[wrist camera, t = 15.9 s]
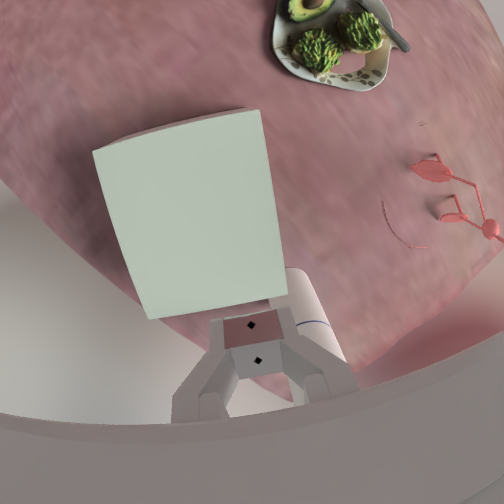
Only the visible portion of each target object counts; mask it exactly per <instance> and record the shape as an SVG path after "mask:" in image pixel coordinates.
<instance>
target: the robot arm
mask: <svg viewBox="0 0 504 504" xmlns="http://www.w3.org/2000/svg"><path fill="white" fill-rule="evenodd" d="M209 337H210V352H206V353H205V354H204V356H203V357H202V359H201V360H200V361H199V362H198V363H197V365H196V366H195V368H194V369H193V370H192V371H191V373H190V374H189V376H188V377H187V378H186V379H185V380H184V382H183V383H182V384H181V386H180V387H179V388H178V390H177V391H176V392H175V394H174V395H173V399H172V415H171V424H149V425H106V424H84V423H70V422H59V421H49V420H41V419H33V418H26V417H19V416H14V415H9V414H4V413H0V504H504V330H503V331H501V332H499V333H498V334H496V335H494V336H492V337H490V338H488V339H486V340H484V341H482V342H480V343H478V344H476V345H474V346H472V347H470V348H468V349H466V350H464V351H462V352H460V353H457V354H456V355H453V356H451V357H449V358H446V359H444V360H442V361H439V362H437V363H434V364H432V365H430V366H427V367H425V368H422V369H420V370H417V371H414V372H412V373H409V374H406V375H404V376H401V377H398V378H396V379H392V380H390V381H387V382H384V383H381V384H378V385H375V386H371V387H368V388H365V389H362V390H360V389H359V386H358V384H357V381H356V379H355V377H354V374H353V372H352V370H351V367H350V365H349V364H348V363H346V362H345V361H343V360H342V359H340V358H338V357H337V356H335V355H334V354H332V353H331V352H329V351H327V350H326V349H324V348H323V347H321V346H320V345H318V344H317V343H315V342H314V341H312V340H310V339H309V338H307V337H306V336H304V335H299V333H298V330H297V327H296V324H295V321H294V318H293V315H292V311H291V308H290V306H289V305H288V306H284V307H279V308H276V309H271V310H266V311H261V312H256V313H250V314H245V315H238V316H232V317H225V318H220V319H213V320H210V323H209ZM279 372H284V373H285V374H286V375H287V376H288V377H289V378H290V379H292V380H293V381H294V382H295V383H296V384H297V385H298V386H299V387H300V388H301V389H303V390H304V405H301V406H296V407H292V408H287V409H282V410H277V411H271V412H266V413H260V414H254V415H247V416H241V417H233V418H230V417H229V415H228V412H227V410H226V408H225V407H226V406H227V404H228V402H229V400H230V398H231V396H232V394H233V392H234V390H235V388H236V387H237V385H238V383H239V380H240V379H245V378H251V377H256V376H261V375H267V374H273V373H279Z"/></svg>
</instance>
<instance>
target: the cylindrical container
mask: <svg viewBox="0 0 504 504" xmlns="http://www.w3.org/2000/svg"><path fill="white" fill-rule="evenodd" d="M285 274H286V281H287V288H288V294H287V295H282V296H277V297H273V298H268V300H269V304H270V308H271V309H276V308H279V307H284V306H288V305H289V306H290V308H291V311H292V315H293V318H294V321H295V324H296V327H297V330H298V333H299V335H304V336H306V337H307V338H309V339H310V340H312V341H314V342H315V343H317V344H318V345H320V346H321V347H323V348H324V349H326V350H327V351H329V352H331V353H332V354H334V355H335V356H337V357H338V358H340V359H342V360H343V361H345V362H346V360H345V358H344V355H343V353H342V351H341V349H340V346H339V344H338V342H337V340H336V337H335V335H334V333H333V331H332V328H331V326H330V324H329V322H328V319H327V317H326V315H325V313H324V311H323V308H322V306H321V304H320V302H319V300H318V297H317V295H316V293H315V291H314V289H313V287H312V285H311V282H310V280H309V278H308V276H307V275H306V273H305V272H303V271H302V270H300V269H298V268H285ZM346 363H347V362H346ZM287 377H288V376H287ZM288 381H289V385H290V389H291V393H292V397H293V402H294V406H295V407H296V406H301V405H304V390H303V389H301V388H300V387H299V386H298V385H297V384H296V383H295V382H294V381H293V380H292V379H290V378H289V377H288Z"/></svg>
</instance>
